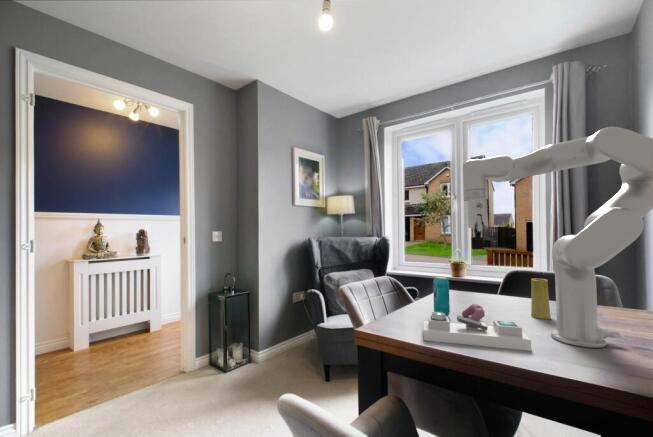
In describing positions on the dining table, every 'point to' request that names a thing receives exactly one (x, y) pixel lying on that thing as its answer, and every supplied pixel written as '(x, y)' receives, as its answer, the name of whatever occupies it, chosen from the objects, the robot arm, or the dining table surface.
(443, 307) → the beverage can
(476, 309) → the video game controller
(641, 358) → the dining table surface
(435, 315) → the steel button
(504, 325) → the teal button
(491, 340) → the control panel
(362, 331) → the dining table surface
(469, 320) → the rocker switch
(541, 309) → the vase
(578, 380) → the dining table surface
